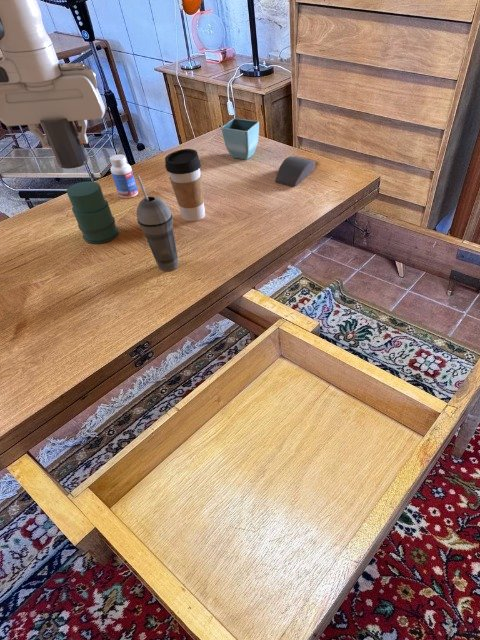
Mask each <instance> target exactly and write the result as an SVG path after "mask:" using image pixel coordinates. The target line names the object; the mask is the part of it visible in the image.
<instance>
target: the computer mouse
mask: <svg viewBox="0 0 480 640" xmlns="http://www.w3.org/2000/svg"><path fill="white" fill-rule="evenodd" d="M315 168H316V161H314V160H312V159H308V158H305V157H299V156H288V157H286V158H285V159H284V160H283V161H282V162H281V164H280V166H279V169H278V171H277V173H276V176H275V179H274V182H275V183H276V184H280V183H281V185H286V186H288V187H289V186H290V187H294V188H295V187H297V185H299V184H300V183H301V182H302V181H304V180H305V179H306V178H307V177H308V176H310V175H311V174H312V173H313V172H314V170H315Z"/></svg>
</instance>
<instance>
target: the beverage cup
mask: <svg viewBox="0 0 480 640" xmlns="http://www.w3.org/2000/svg"><path fill="white" fill-rule="evenodd" d="M136 179H137V181H138V183H139V185H140V188H141V191H142V193H143V195H144V196H143V197H144V198H142V199H141V200H140V202H139V203H138V205H137V208H136V221H137V223H138V224H139V227H140V229H141V230H142V232H143V234H144V236H145V239H146V241H147V243H148V246H149V248H150V250H151V253H152V256H153V259H154V260H155V263H156V264H157V267H158V269H159V270H160V271H162V272H172V271H175V270H176V269H177V268H178V267H179V256H178V251H177V245H176V238H175V234H174V227H173V226H174V223H173V222H174V220H173V214H172V212H171V209H170V207H169V205H168V204H167V202H165V201H164V200H163V199H161V198H160V197H157V196H148V194H147V192H146V189H145V187H144V184H143V182H142V179H141V176H140V174H137V175H136Z"/></svg>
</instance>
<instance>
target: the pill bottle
mask: <svg viewBox="0 0 480 640" xmlns="http://www.w3.org/2000/svg"><path fill="white" fill-rule="evenodd" d="M109 162H110V164H111V166H110V172H111V176H112V179H113V183H114V186H115V188H116V191H117V195H118V197H120V198H121V199H122V198H123V199H130V198H134V197H136V196H137V195H138V193H139V190H138V186H137V183H136V179H135V176H134V173H133V169H132V166H131V165H130V164H129V163H127V157H126V155H125V154H122V153H121V154H114V155H111V156H109Z"/></svg>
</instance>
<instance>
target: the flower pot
mask: <svg viewBox="0 0 480 640" xmlns="http://www.w3.org/2000/svg"><path fill="white" fill-rule="evenodd" d="M220 129H221V133H222V139H223V141H224V146H225V147H226V149H227V152H229V155H230V156H231V157H232V158H234V159H240V160H246V161H247V160H248V159H250V158H251V157H252V156H253V155H254V154H255V152H256V150H257V147H258V143H259V137H260V136H259V135H260V121H258V120H251V119H244V118H237V117H233V118H232V119H231V120H229V121H228V122H227V123H225V124H224V125H222V127H220Z"/></svg>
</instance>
